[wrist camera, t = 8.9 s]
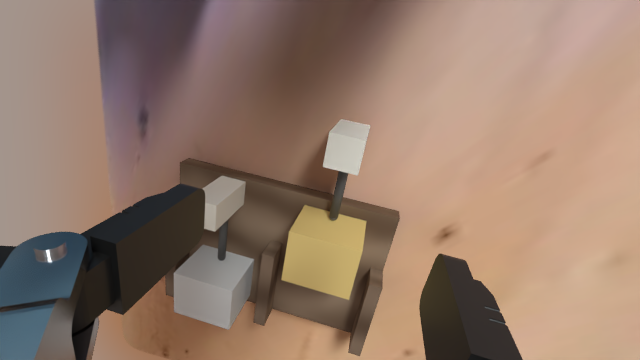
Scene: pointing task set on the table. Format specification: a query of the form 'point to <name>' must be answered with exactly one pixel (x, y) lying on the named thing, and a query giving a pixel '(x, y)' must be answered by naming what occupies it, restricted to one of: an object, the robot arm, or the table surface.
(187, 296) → the white block with handle
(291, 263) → the ochre block
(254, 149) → the table surface
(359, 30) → the table surface
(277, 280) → the lane rack
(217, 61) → the table surface
